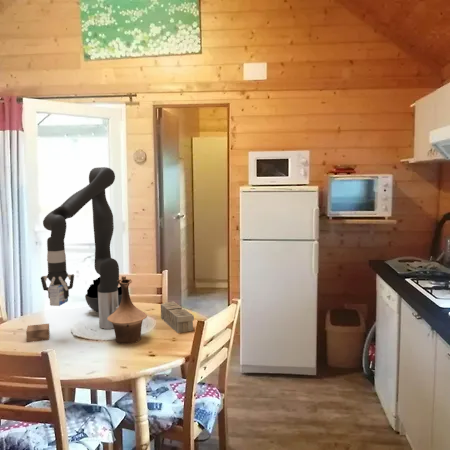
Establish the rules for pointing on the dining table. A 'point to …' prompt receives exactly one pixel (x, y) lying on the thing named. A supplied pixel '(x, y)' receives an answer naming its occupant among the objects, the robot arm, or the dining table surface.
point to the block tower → (177, 317)
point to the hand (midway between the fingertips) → (58, 298)
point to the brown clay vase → (127, 317)
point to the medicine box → (57, 295)
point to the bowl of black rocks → (93, 295)
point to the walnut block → (37, 332)
